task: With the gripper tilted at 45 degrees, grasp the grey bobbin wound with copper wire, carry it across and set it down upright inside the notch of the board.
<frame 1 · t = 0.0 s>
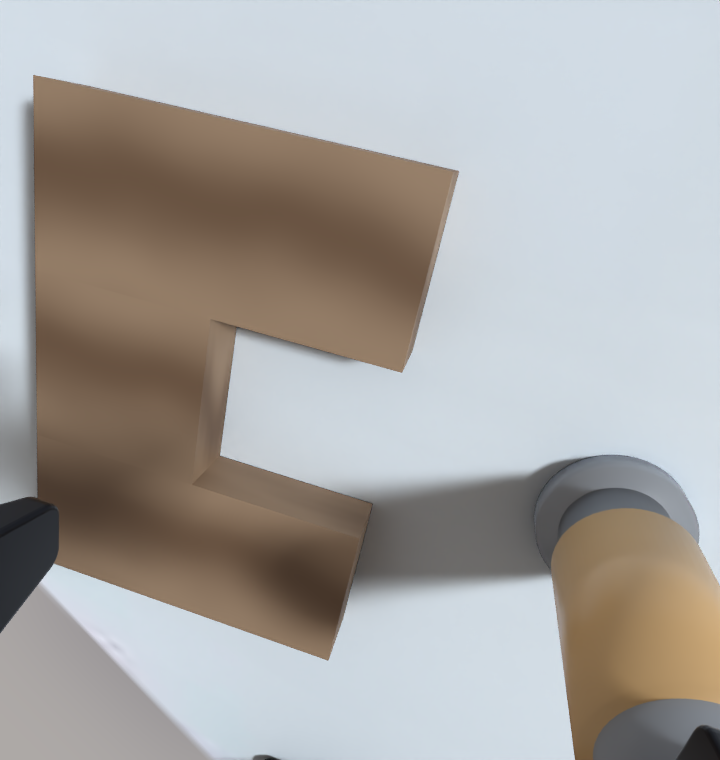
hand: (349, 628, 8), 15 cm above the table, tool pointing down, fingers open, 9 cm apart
notched board: (229, 384, 24), on the table
bobbin: (610, 520, 22), on the table
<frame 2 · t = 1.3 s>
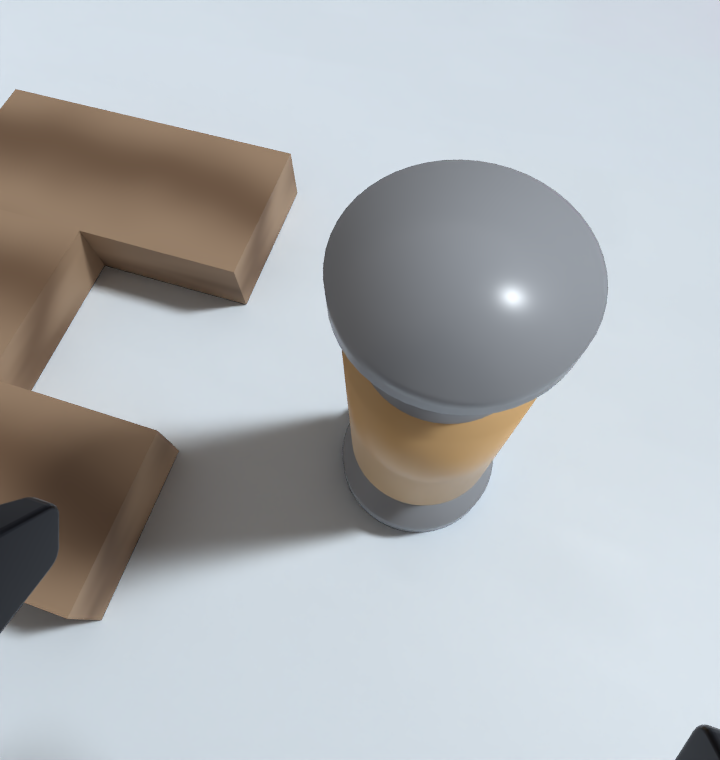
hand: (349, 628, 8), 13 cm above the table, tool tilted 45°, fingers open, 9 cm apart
notched board: (66, 329, 25), on the table
bobbin: (415, 458, 23), on the table
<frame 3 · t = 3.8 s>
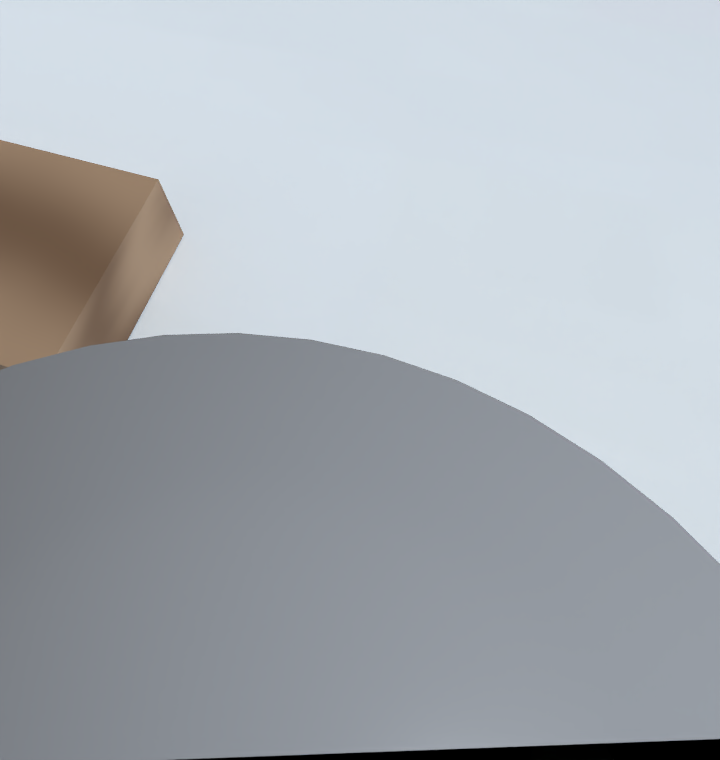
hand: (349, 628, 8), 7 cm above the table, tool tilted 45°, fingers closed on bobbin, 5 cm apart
bobbin: (339, 692, 14), on the table, touching gripper
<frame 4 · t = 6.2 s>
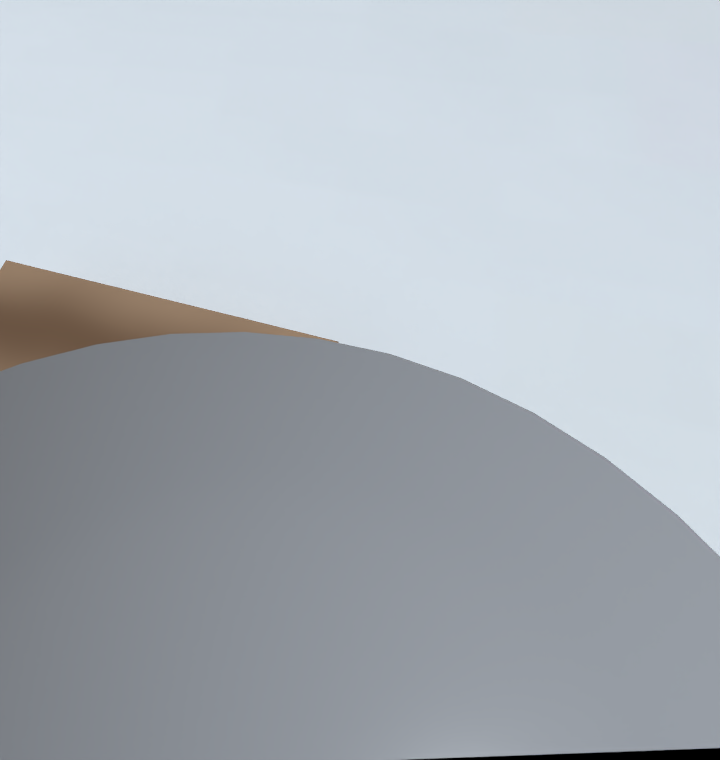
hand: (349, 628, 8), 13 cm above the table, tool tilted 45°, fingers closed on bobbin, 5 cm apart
notched board: (80, 564, 21), on the table
bobbin: (340, 692, 14), point 7 cm above the table, touching gripper
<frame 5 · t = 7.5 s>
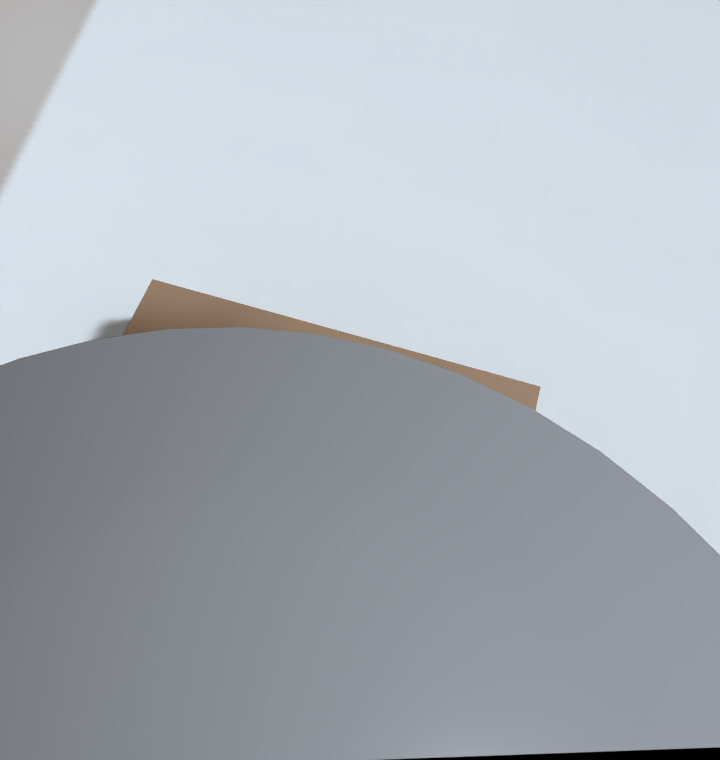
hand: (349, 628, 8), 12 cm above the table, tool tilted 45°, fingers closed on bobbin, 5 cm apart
notched board: (242, 633, 18), on the table
bobbin: (339, 691, 14), point 5 cm above the table, touching gripper
when the fingers open (8 cm above the table, at t = 8.6 s): bobbin drops 1 cm, on the table.
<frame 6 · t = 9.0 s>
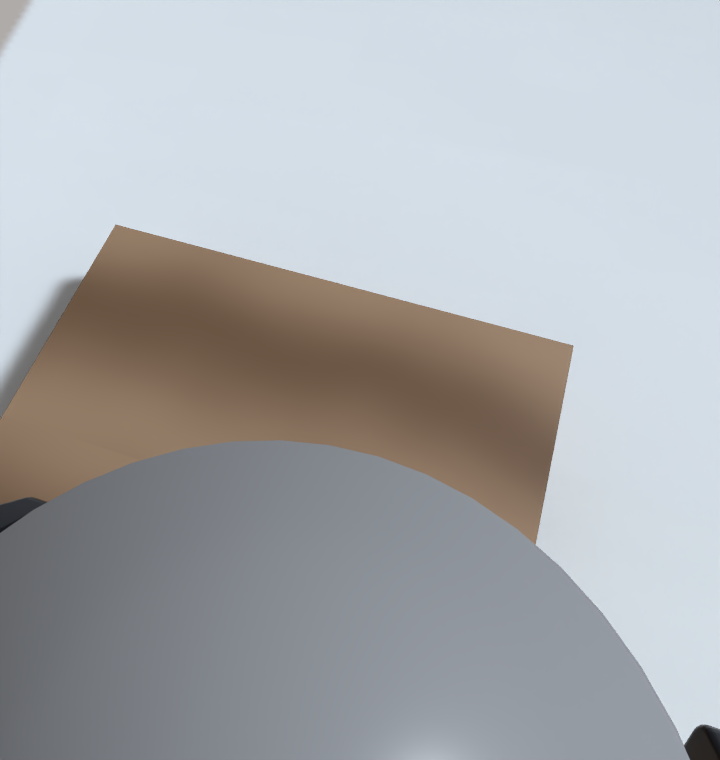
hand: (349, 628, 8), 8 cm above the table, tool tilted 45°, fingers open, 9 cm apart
notched board: (216, 640, 15), on the table
bobbin: (341, 689, 15), on the table
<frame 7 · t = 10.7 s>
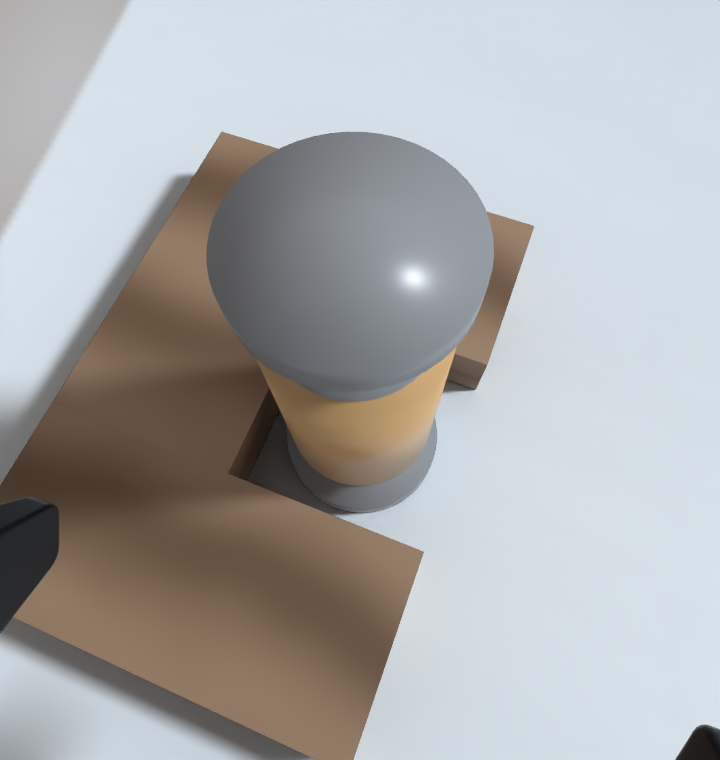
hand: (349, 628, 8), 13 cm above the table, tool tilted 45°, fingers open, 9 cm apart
notched board: (281, 407, 23), on the table
bobbin: (362, 440, 23), on the table
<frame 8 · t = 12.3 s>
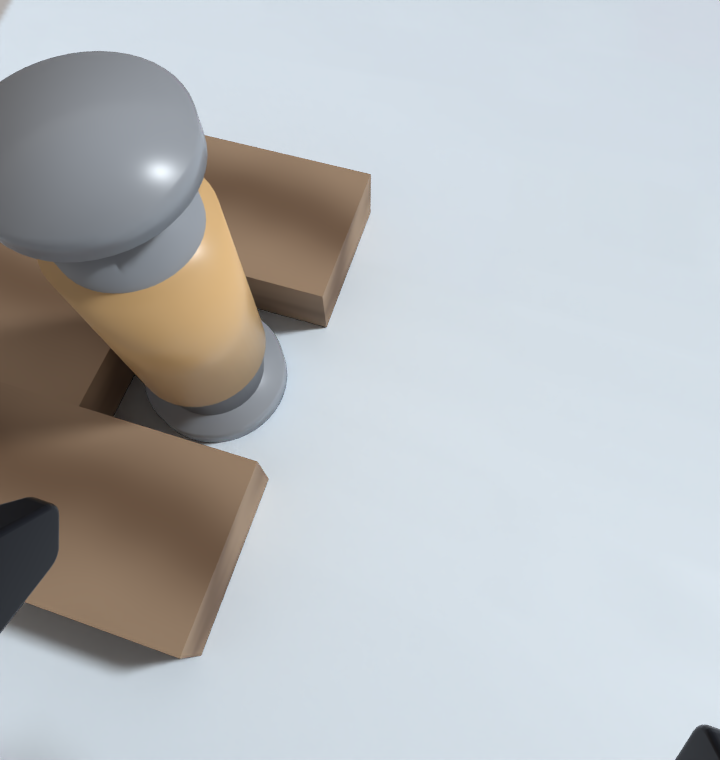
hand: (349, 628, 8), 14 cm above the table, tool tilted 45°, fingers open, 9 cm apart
notched board: (145, 353, 25), on the table
bobbin: (220, 378, 24), on the table
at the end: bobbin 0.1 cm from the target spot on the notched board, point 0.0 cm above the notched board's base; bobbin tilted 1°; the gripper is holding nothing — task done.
